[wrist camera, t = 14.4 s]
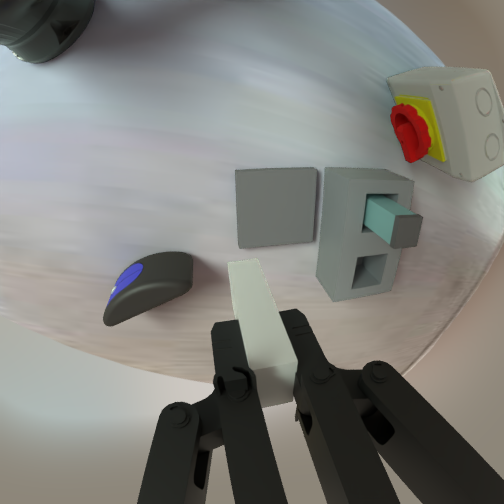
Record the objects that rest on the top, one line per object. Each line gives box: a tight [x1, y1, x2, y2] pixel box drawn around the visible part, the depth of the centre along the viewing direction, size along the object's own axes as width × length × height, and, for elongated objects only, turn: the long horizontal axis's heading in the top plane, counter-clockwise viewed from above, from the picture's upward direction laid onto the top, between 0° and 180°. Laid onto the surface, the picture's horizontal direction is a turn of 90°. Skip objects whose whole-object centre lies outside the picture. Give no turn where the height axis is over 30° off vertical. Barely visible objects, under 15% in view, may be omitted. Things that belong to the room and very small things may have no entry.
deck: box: [235, 167, 317, 249], centre depth 42 cm, size 12×12×2 cm
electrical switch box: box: [387, 67, 504, 182], centre depth 31 cm, size 14×15×20 cm
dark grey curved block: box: [103, 252, 193, 326], centre depth 40 cm, size 16×5×9 cm, turn 114°
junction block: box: [316, 167, 414, 302], centre depth 43 cm, size 20×12×8 cm, turn 1°
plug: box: [363, 194, 423, 249], centre depth 37 cm, size 4×4×14 cm
